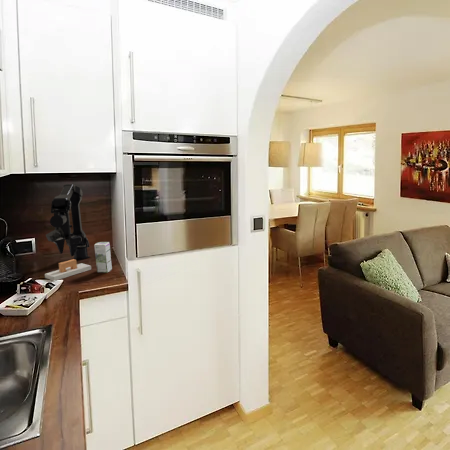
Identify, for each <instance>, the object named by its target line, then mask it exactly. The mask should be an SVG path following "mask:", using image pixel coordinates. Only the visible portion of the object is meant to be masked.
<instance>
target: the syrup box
mask: <svg viewBox="0 0 450 450" xmlns="http://www.w3.org/2000/svg"><path fill="white" fill-rule="evenodd" d="M94 254H95V255H94V256H95V263H96V264H95V266H96V272H97V273H109V272H111V271H112V270H113V266H112V258H111V257H112V255H111V245H110V241H99V242H98V241H97V242H96V243H95V244H94Z"/></svg>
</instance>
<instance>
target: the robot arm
mask: <svg viewBox="0 0 450 450" xmlns="http://www.w3.org/2000/svg"><path fill="white" fill-rule="evenodd" d="M83 193H84V192H83V190H82V188H81V187H79V186H77V185H76V184H73V183H65V184H64V185H63V188H62V189H61V192H60V194H59V195H56V196H54V198H53V199H52V200H51V205H50V206H51V207H50V214H53V215H52V216H51V218H50V219H49V223H50V225H51V227H53V228H54V230H51V231H50V232H48V233H46V234H45V237H46V239H47V241H48V242H51V243H53V244H55V246H56V248H57V249H58V252H59V254H60V255H63V253H64V248H65V245H67V247H68V249H69V253H70V257H73V259H75V260H79V261H81V260H85V259H88V258H90V256H89V254H88V248H90V242H89V239H88V237H87V235H86V233H85V231H84V230H83V225H82V218H81V208H80V207H81V206H80V204H81V201H82V200H83ZM70 212H71V219H72V220H70ZM70 221H72V224H71V222H70ZM71 228H72V230H73V231H71ZM65 242H66V243H65Z"/></svg>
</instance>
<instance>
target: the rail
mask: <svg viewBox="0 0 450 450" xmlns="http://www.w3.org/2000/svg"><path fill="white" fill-rule="evenodd" d="M91 270H92V265H89V264H85V263H82V262H81V263H77V269H71V267H68V268H66V272H63V273H61V272H59V269H57V270H52V271H50V272H47V273H44V279H47V280H50V281H53V280H56V281H59V280H63V279H65V278H69V277H71V276H75V275H78V274H80V273H81V274H82V273H84V272H87V271H91Z"/></svg>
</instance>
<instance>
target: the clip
mask: <svg viewBox="0 0 450 450" xmlns="http://www.w3.org/2000/svg"><path fill="white" fill-rule="evenodd" d="M77 264H78V261H77V259H74V258H73V259H69V260H65V261H61V262H58V270H59V272H61V273H63V272H66V268H68V267H71V269H77Z"/></svg>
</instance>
